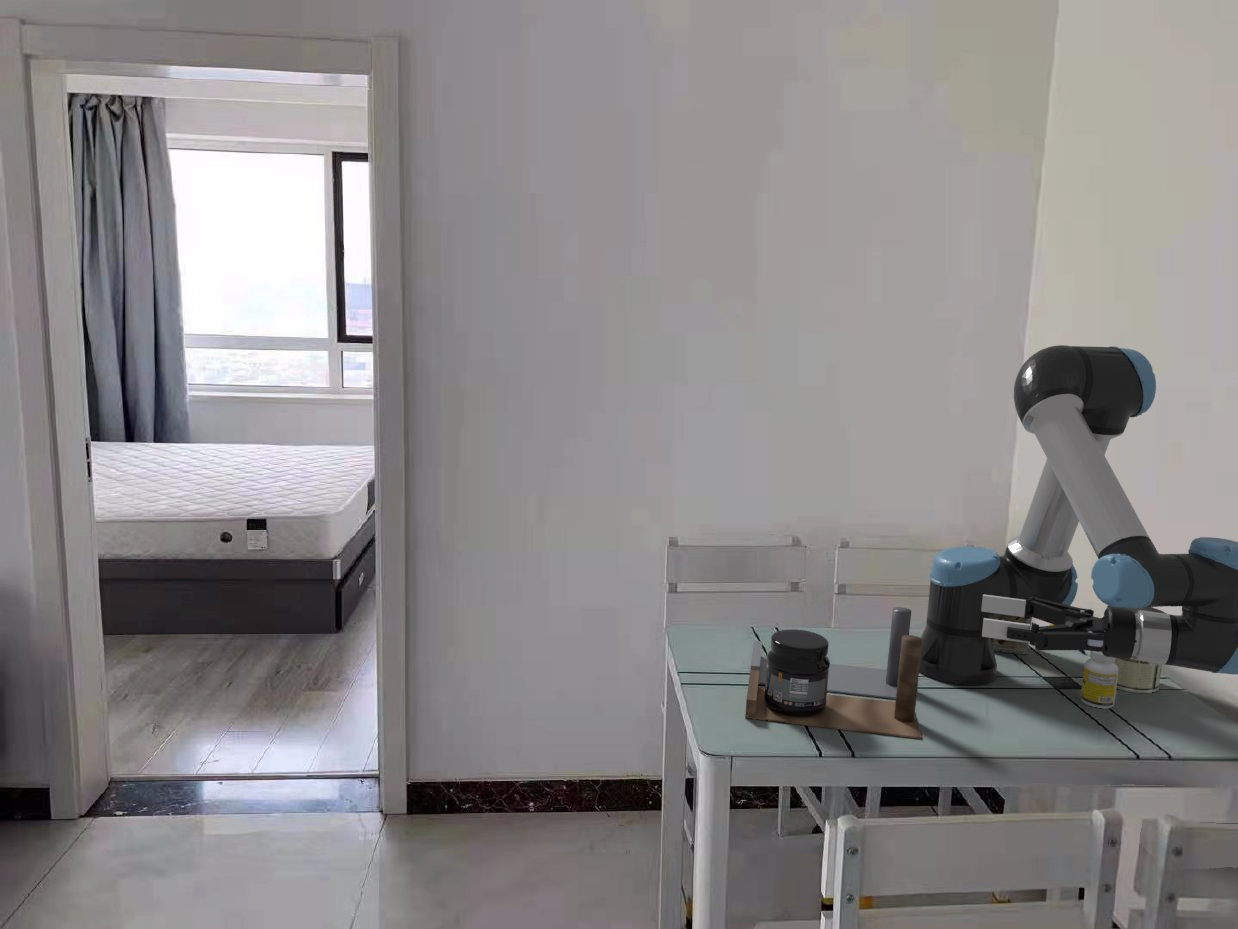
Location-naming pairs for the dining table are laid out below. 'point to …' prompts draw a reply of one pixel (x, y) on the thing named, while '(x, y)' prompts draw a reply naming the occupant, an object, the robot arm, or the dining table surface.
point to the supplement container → (797, 673)
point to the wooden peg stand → (857, 703)
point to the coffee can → (1138, 670)
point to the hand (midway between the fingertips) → (982, 614)
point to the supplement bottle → (1099, 681)
